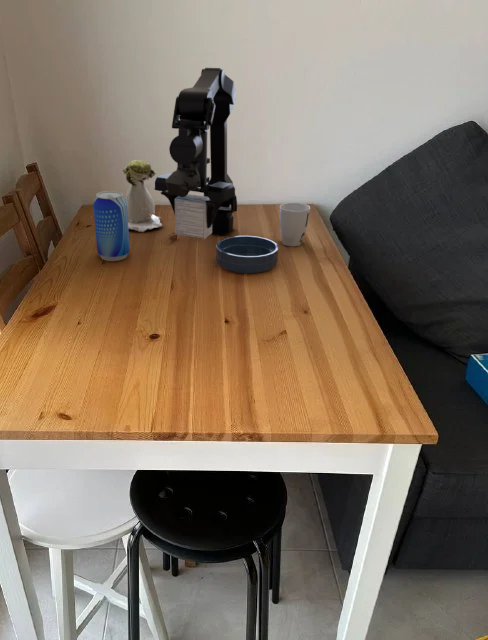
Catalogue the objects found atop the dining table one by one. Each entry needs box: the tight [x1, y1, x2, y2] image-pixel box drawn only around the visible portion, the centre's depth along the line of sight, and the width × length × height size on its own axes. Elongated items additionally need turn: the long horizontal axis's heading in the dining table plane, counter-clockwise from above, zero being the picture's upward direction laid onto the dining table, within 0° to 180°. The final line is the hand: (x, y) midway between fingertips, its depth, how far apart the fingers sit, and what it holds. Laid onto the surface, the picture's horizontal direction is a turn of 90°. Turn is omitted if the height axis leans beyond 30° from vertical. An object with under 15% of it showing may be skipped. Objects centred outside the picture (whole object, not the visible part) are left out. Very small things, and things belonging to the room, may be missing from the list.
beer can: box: [92, 190, 131, 262], centre depth 151 cm, size 8×8×16 cm
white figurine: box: [122, 159, 163, 233], centre depth 172 cm, size 12×13×18 cm
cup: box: [279, 202, 311, 247], centre depth 161 cm, size 8×8×10 cm
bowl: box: [215, 235, 280, 274], centre depth 150 cm, size 16×16×4 cm
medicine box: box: [174, 193, 213, 239], centre depth 138 cm, size 8×4×9 cm, turn 65°
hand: (193, 224), depth 139 cm, fingers closed on medicine box, 8 cm apart
